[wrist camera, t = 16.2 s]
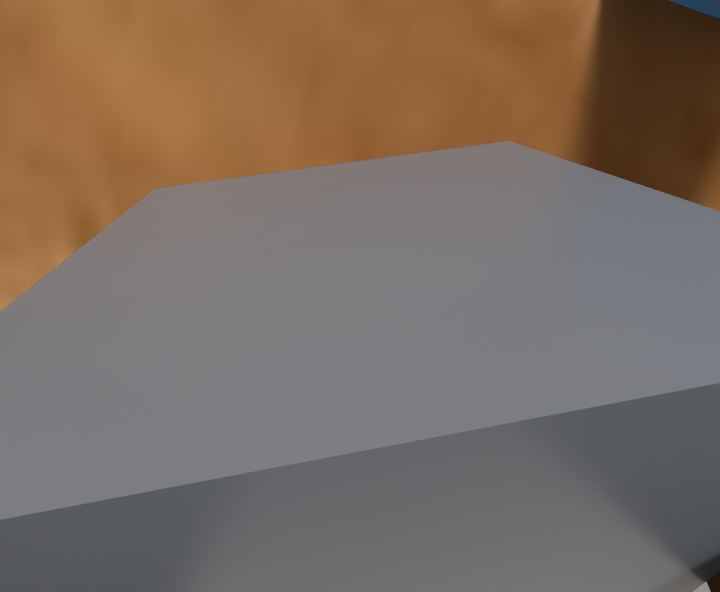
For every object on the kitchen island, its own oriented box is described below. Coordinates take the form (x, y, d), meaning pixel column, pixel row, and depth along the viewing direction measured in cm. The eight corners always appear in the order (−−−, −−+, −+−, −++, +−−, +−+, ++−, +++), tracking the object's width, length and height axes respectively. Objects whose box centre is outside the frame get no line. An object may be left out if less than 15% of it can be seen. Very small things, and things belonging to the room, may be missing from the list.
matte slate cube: (155, 188, 9) (-342, 583, 2) (509, 140, 10) (1046, 321, 3) (254, 418, 15) (209, 741, 8) (476, 378, 16) (625, 642, 8)
